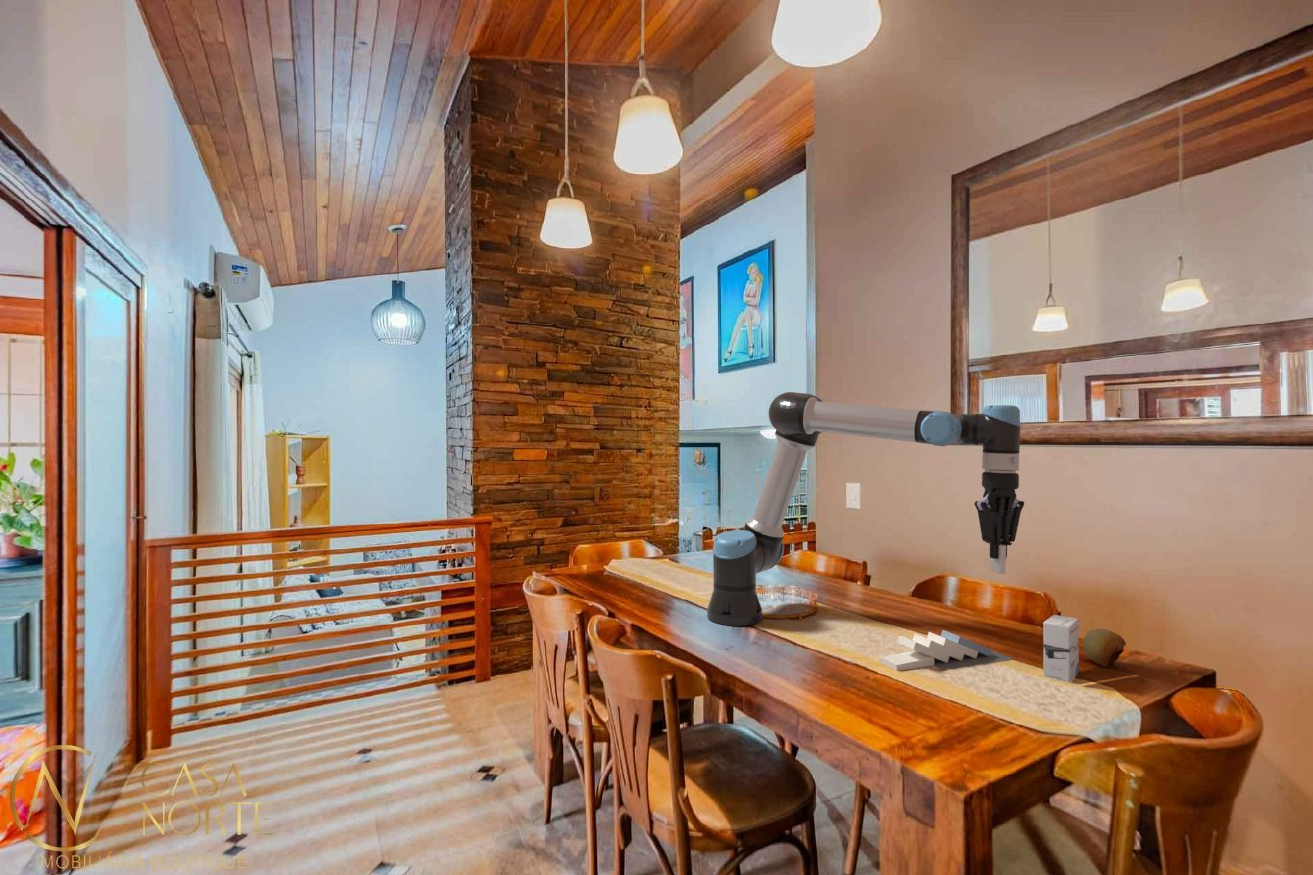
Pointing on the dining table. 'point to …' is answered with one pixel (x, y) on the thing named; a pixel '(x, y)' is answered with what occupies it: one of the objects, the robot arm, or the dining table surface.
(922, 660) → the domino
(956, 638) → the domino
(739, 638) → the dining table surface
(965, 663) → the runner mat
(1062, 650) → the ink box
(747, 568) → the robot arm
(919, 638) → the domino
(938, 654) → the domino
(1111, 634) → the fruit
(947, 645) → the domino
